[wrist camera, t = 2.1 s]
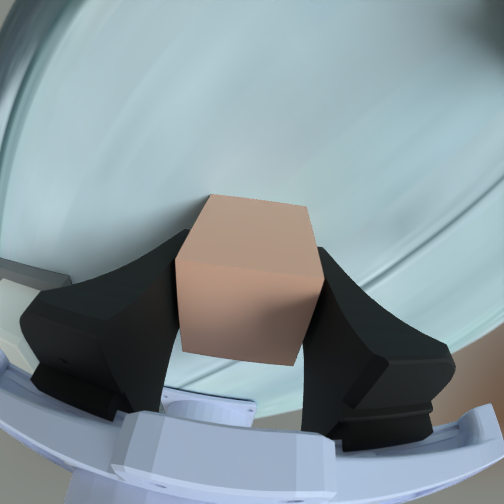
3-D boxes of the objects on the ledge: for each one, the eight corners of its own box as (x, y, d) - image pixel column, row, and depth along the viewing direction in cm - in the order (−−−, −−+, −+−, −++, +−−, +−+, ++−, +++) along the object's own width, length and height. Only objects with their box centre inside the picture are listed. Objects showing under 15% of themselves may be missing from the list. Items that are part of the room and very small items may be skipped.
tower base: (98, 355, 19) (72, 411, 14) (31, 330, 19) (3, 374, 14) (69, 275, 15) (20, 339, 10) (-1, 257, 15) (-44, 302, 10)
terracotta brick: (289, 281, 14) (293, 366, 9) (207, 271, 14) (182, 351, 9) (306, 206, 12) (324, 278, 7) (211, 193, 12) (175, 259, 7)
